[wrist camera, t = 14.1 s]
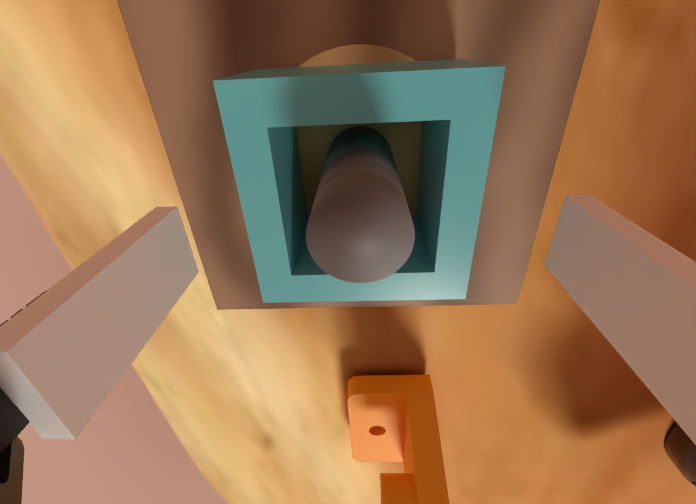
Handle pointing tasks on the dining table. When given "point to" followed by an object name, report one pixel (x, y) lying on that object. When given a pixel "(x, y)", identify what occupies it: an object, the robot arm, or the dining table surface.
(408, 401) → the bracket
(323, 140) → the post base
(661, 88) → the dining table surface
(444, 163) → the collar
